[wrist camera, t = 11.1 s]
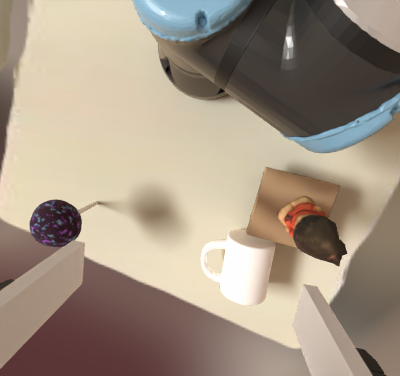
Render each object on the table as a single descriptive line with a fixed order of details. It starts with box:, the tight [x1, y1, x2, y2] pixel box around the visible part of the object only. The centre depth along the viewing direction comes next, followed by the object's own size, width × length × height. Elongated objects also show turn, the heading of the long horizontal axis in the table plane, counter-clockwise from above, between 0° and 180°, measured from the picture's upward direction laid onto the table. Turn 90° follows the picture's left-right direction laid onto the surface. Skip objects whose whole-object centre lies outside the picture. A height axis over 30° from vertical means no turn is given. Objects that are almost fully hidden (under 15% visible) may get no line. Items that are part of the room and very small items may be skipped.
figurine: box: [277, 196, 347, 266], centre depth 32 cm, size 6×6×12 cm
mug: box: [201, 230, 276, 305], centre depth 43 cm, size 12×10×8 cm
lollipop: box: [30, 200, 98, 247], centre depth 40 cm, size 7×7×15 cm
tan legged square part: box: [246, 167, 340, 248], centre depth 41 cm, size 11×11×6 cm
